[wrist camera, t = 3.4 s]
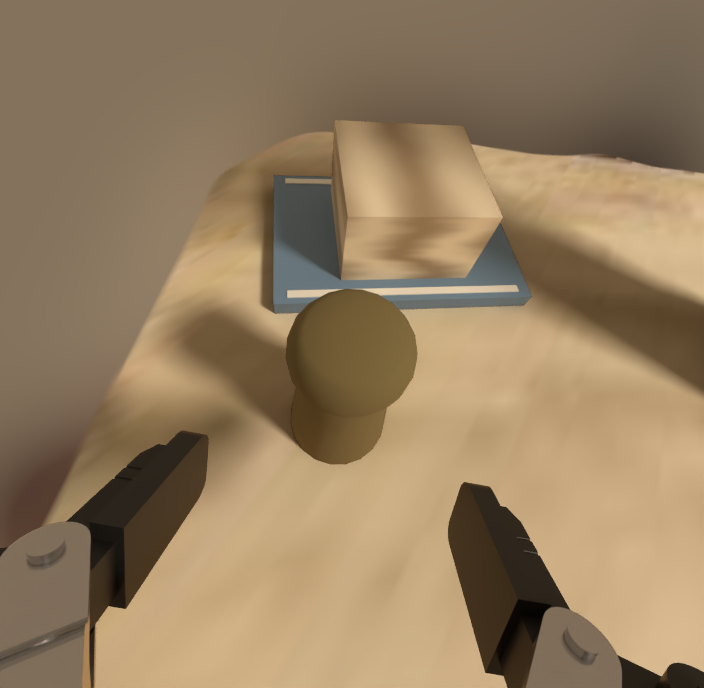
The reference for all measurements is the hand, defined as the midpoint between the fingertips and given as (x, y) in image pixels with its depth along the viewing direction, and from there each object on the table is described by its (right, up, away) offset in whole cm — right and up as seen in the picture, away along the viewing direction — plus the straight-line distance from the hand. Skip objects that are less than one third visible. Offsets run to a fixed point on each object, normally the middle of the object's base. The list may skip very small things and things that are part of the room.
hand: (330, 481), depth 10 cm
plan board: (+4, +13, +19) cm, 23 cm away
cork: (0, 0, +11) cm, 11 cm away
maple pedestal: (+4, +14, +18) cm, 23 cm away
